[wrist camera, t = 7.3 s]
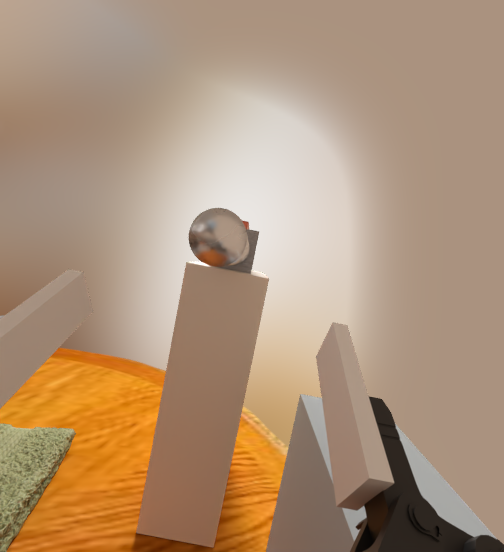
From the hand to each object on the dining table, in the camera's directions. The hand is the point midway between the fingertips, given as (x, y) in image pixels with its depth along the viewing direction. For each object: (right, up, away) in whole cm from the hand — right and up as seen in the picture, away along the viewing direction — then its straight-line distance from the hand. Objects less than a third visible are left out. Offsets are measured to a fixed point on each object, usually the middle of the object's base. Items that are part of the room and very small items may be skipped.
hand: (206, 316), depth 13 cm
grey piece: (0, +3, +12) cm, 13 cm away
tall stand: (-5, -24, +19) cm, 31 cm away
